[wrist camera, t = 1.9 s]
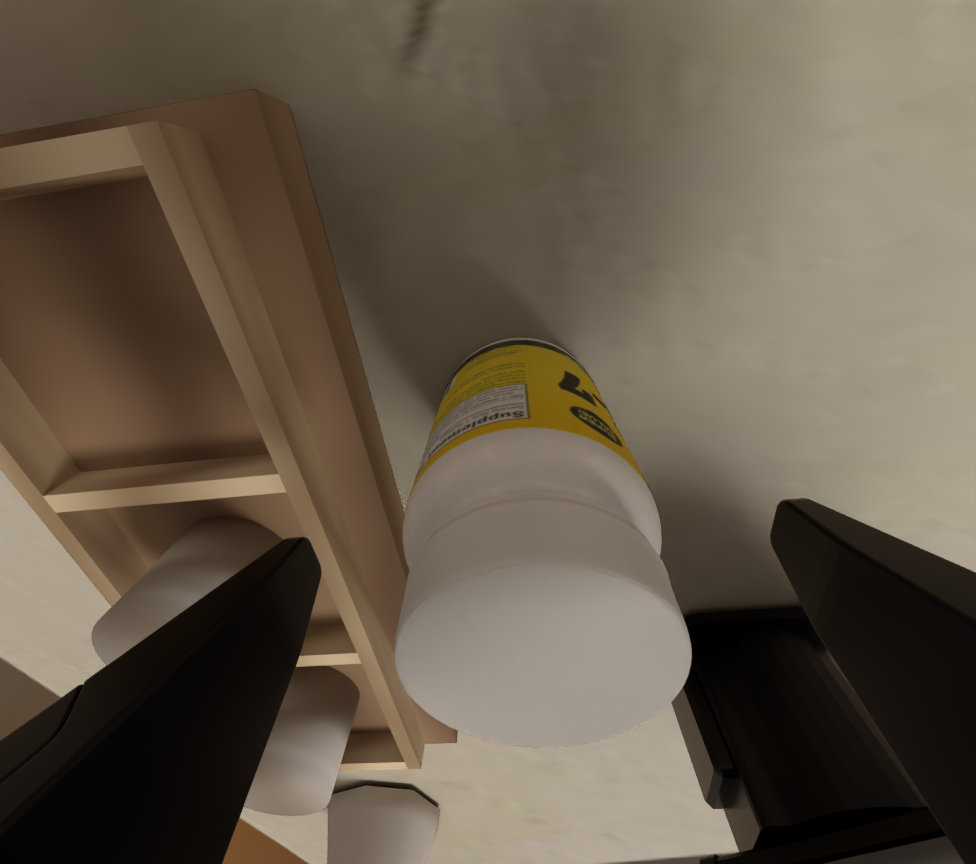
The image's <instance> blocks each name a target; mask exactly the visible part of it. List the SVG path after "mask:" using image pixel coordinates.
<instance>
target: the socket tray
mask: <svg viewBox="0 0 976 864" xmlns="http://www.w3.org/2000/svg"><path fill="white" fill-rule="evenodd" d="M0 469H1V471H2V472H3V473H4V474H5V476H6V477H7V478H8V479H9V481H10V482H11V483H12V484H13V485H14V487H15V488H16V489H17V490H18V492H19V493H20V494H21V495H22V497H23V498H24V499H25V500H26V502H27V503H28V504H29V505H30V506H31V508H32V509H33V510H34V511H35V513H36V514H37V515H38V516H39V518H40V519H41V520H42V521H43V522H44V524H45V525H46V526H47V527H48V529H49V530H50V531H51V532H52V534H53V535H54V536H55V537H56V539H57V540H58V541H59V542H60V543H61V545H62V546H63V547H64V548H65V550H66V551H67V552H68V553H69V555H70V556H71V557H72V558H73V560H74V561H75V562H76V563H77V564H78V566H79V567H80V568H81V569H82V571H83V572H84V573H85V574H86V576H87V577H88V578H89V579H90V581H91V582H92V583H93V584H94V585H95V587H96V588H97V589H98V590H99V592H100V593H101V594H102V595H103V597H104V598H105V599H106V600H107V601H108V603H109V604H110V605H111V606H112V607H111V608H110V609H109V610H108V611H107V612H106V613H105V614H104V615H103V616H102V617H101V619H100V620H99V621H98V622H97V623H96V624H95V626H94V627H93V631H92V643H93V646H94V649H95V651H96V652H97V654H98V656H99V657H100V658H101V660H102V661H103V662H104V663H105V664H106V665H108V664H110V663H111V662H112V661H114V660H115V659H117V658H118V657H119V656H121V655H122V654H124V653H125V652H126V651H128V650H129V649H131V648H132V647H133V646H135V645H136V644H138V643H139V642H140V641H142V640H143V639H145V638H146V637H147V636H149V635H150V634H152V633H153V632H154V631H156V630H157V629H159V628H160V627H162V626H163V625H164V624H166V623H167V622H169V621H170V620H171V619H173V618H174V617H176V616H177V615H178V614H180V613H181V612H183V611H184V610H185V609H187V608H188V607H190V606H191V605H192V604H194V603H195V602H197V601H198V600H199V599H201V598H202V597H204V596H205V595H206V594H208V593H209V592H211V591H212V590H213V589H215V588H216V587H218V586H219V585H220V584H222V583H223V582H225V581H226V580H227V579H229V578H230V577H232V576H233V575H234V574H236V573H237V572H239V571H240V570H242V569H243V568H244V567H246V566H247V565H249V564H250V563H251V562H253V561H254V560H256V559H257V558H258V557H260V556H261V555H263V554H264V553H265V552H267V551H268V550H270V549H271V548H272V547H274V546H275V545H277V544H278V543H279V542H281V541H282V540H284V539H286V538H291V537H307V538H308V539H309V540H310V542H311V544H312V546H313V549H314V551H315V553H316V556H317V558H318V560H319V563H320V565H321V572H322V574H321V580H320V584H319V588H318V591H317V595H316V599H315V603H314V606H313V610H312V614H311V618H310V622H309V625H308V629H307V633H306V637H305V640H304V644H303V647H302V650H301V653H300V656H299V659H298V662H297V665H296V668H295V670H294V673H293V676H292V678H291V681H290V684H289V686H288V689H287V692H286V694H285V697H284V700H283V702H282V705H281V708H280V710H279V713H278V716H277V718H276V721H275V724H274V726H273V729H272V732H271V734H270V737H269V740H268V742H267V745H266V748H265V751H264V753H263V756H262V759H261V761H260V764H259V767H258V769H257V772H256V775H255V777H254V780H253V783H252V785H251V788H250V791H249V793H248V796H247V799H246V801H245V804H244V807H246V808H249V809H252V810H255V811H259V812H263V813H268V814H273V815H282V816H300V815H308V814H312V813H316V812H318V811H320V810H322V809H324V808H325V807H326V806H327V805H328V804H329V802H330V799H331V795H332V792H333V788H334V785H335V782H336V778H337V775H338V771H349V770H387V769H421V765H422V758H423V751H424V744H436V743H457V733H458V731H457V730H455V729H453V728H451V727H449V726H447V725H445V724H444V723H442V722H440V721H438V720H437V719H435V718H434V717H432V716H431V715H429V714H428V713H427V712H426V711H424V710H423V709H422V708H421V707H420V706H419V705H418V704H417V703H416V702H415V701H414V700H413V699H412V698H411V697H410V696H409V694H408V693H407V692H406V690H405V688H404V686H403V684H402V683H401V681H400V679H399V676H398V674H397V670H396V666H395V659H394V643H395V635H396V631H397V626H398V622H399V617H400V613H401V608H402V604H403V599H404V594H405V588H406V584H407V578H408V574H409V571H410V570H409V568H408V565H407V562H406V559H405V554H404V547H403V523H404V517H405V514H404V511H403V507H402V504H401V500H400V497H399V493H398V490H397V486H396V482H395V479H394V475H393V472H392V468H391V465H390V461H389V458H388V454H387V451H386V447H385V444H384V440H383V436H382V433H381V429H380V426H379V422H378V419H377V415H376V412H375V408H374V405H373V401H372V398H371V394H370V390H369V387H368V383H367V380H366V376H365V373H364V369H363V366H362V362H361V359H360V355H359V352H358V348H357V344H356V341H355V337H354V334H353V330H352V327H351V323H350V320H349V316H348V313H347V309H346V306H345V302H344V298H343V295H342V291H341V288H340V284H339V281H338V277H337V274H336V270H335V267H334V263H333V260H332V256H331V252H330V249H329V245H328V242H327V238H326V235H325V231H324V228H323V224H322V221H321V217H320V214H319V210H318V206H317V203H316V199H315V196H314V192H313V189H312V185H311V182H310V178H309V175H308V171H307V168H306V164H305V160H304V157H303V153H302V150H301V146H300V143H299V139H298V136H297V132H296V129H295V125H294V122H293V118H292V114H291V111H290V107H289V105H287V104H285V103H283V102H281V101H278V100H276V99H274V98H272V97H270V96H268V95H266V94H264V93H262V92H260V91H258V90H255V89H252V90H246V91H240V92H235V93H229V94H224V95H218V96H213V97H207V98H202V99H196V100H191V101H185V102H180V103H174V104H169V105H163V106H157V107H152V108H146V109H141V110H135V111H130V112H124V113H119V114H113V115H108V116H102V117H97V118H91V119H85V120H80V121H74V122H69V123H63V124H58V125H52V126H47V127H41V128H36V129H30V130H25V131H19V132H13V133H8V134H2V135H0Z"/></svg>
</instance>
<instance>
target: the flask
mask: <svg viewBox="0 0 976 864" xmlns="http://www.w3.org/2000/svg"><path fill="white" fill-rule="evenodd" d="M439 816H440V809H438V808H437V807H436V806H434V805H433V804H431V803H430V802H429V801H427V800H426V799H425V798H423V797H422V796H421V795H419V794H418V793H417V792H415V791H414V790H407V789H396V788H386V787H375V786H362V787H358V788H354V789H351V790H347V791H343V792H339V793H336V794H332V795H331V799H330V802H329V804H328V857H327V864H425V862H426V860H427V857H428V855H429V852H430V850H431V847H432V844H433V842H434V839H435V836H436V833H437V831H438V824H439Z"/></svg>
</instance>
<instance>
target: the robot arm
mask: <svg viewBox="0 0 976 864" xmlns="http://www.w3.org/2000/svg"><path fill="white" fill-rule="evenodd" d="M770 539H771V544H772V547H773V549H774V551H775V553H776V555H777V557H778V559H779V561H780V563H781V565H782V567H783V569H784V571H785V573H786V575H787V577H788V579H789V581H790V583H791V585H792V587H793V589H794V591H795V593H796V595H797V597H798V599H799V601H800V603H801V605H802V607H803V608H787V609H769V610H752V611H734V612H716V613H699V614H692V615H690V616H687V617H686V618H685V619H684V621H685V624H686V627H687V630H688V633H689V637H690V642H691V648H692V659H691V667H690V671H689V675H688V677H687V679H686V682H685V684H684V686H683V687H682V689H681V690H680V692H679V693H678V695H677V696H676V697H675V699H674V700H673V701H672V705H673V708H674V711H675V714H676V717H677V720H678V723H679V726H680V729H681V732H682V735H683V738H684V741H685V744H686V746H687V749H688V752H689V755H690V758H691V761H692V764H693V767H694V770H695V773H696V776H697V779H698V782H699V785H700V788H701V790H702V793H703V796H704V799H705V801H706V802H707V803H708V804H709V805H710V806H711V807H712V808H713V809H724V811H725V814H726V817H727V820H728V822H729V825H730V828H731V830H732V833H733V836H734V839H735V841H736V844H737V847H738V850H739V853H735V854H731V855H727V856H723V857H719V856H717V855H711V856H707V857H703V858H700V864H976V572H973V571H971V570H969V569H966V568H964V567H962V566H960V565H957V564H955V563H953V562H950V561H948V560H946V559H944V558H941V557H939V556H937V555H935V554H932V553H930V552H928V551H925V550H923V549H921V548H919V547H916V546H914V545H912V544H910V543H907V542H905V541H903V540H900V539H898V538H896V537H894V536H891V535H889V534H887V533H885V532H882V531H880V530H878V529H875V528H873V527H871V526H869V525H866V524H864V523H862V522H860V521H857V520H855V519H853V518H850V517H848V516H846V515H844V514H841V513H839V512H837V511H835V510H832V509H830V508H828V507H825V506H823V505H821V504H819V503H816V502H814V501H812V500H809V499H805V498H800V499H787V500H783V501H781V502H780V503H779V504H778V506H777V509H776V513H775V517H774V521H773V525H772V529H771V534H770ZM321 574H322V572H321V565H320V563H319V560H318V558H317V556H316V553H315V551H314V549H313V546H312V544H311V542H310V540H309V539H308V538H307V537H291V538H286V539H284V540H282V541H281V542H279V543H278V544H277V545H275V546H274V547H272V548H271V549H270V550H268V551H267V552H265V553H264V554H263V555H261V556H260V557H258V558H257V559H256V560H254V561H253V562H251V563H250V564H249V565H247V566H246V567H244V568H243V569H242V570H240V571H239V572H237V573H236V574H234V575H233V576H232V577H230V578H229V579H227V580H226V581H225V582H223V583H222V584H220V585H219V586H218V587H216V588H215V589H213V590H212V591H211V592H209V593H208V594H206V595H205V596H204V597H202V598H201V599H199V600H198V601H197V602H195V603H194V604H192V605H191V606H190V607H188V608H187V609H185V610H184V611H183V612H181V613H180V614H178V615H177V616H176V617H174V618H173V619H171V620H170V621H169V622H167V623H166V624H164V625H163V626H162V627H160V628H159V629H157V630H156V631H154V632H153V633H152V634H150V635H149V636H147V637H146V638H145V639H143V640H142V641H140V642H139V643H138V644H136V645H135V646H133V647H132V648H131V649H129V650H128V651H126V652H125V653H124V654H122V655H121V656H119V657H118V658H117V659H115V660H114V661H112V662H111V663H110V664H108V665H107V666H105V667H104V668H103V669H101V670H100V671H98V672H97V673H96V674H94V675H93V676H91V677H90V678H89V679H87V680H86V681H85V682H84V685H79V686H77V687H76V688H74V689H73V690H72V691H70V692H69V693H67V694H66V695H65V696H63V697H62V698H60V699H59V700H58V701H56V702H55V703H53V704H52V705H51V706H49V707H48V708H46V709H45V710H43V711H42V712H41V713H39V714H38V715H36V716H35V717H33V718H32V719H30V720H29V721H28V722H26V723H25V724H23V725H22V726H21V727H19V728H18V729H16V730H15V731H13V732H12V733H10V734H9V735H8V736H6V737H5V738H3V739H2V740H0V864H222V863H223V860H224V857H225V855H226V852H227V849H228V847H229V844H230V841H231V839H232V836H233V833H234V831H235V828H236V825H237V823H238V820H239V817H240V815H241V812H242V809H243V807H244V804H245V801H246V799H247V796H248V793H249V791H250V788H251V785H252V783H253V780H254V777H255V775H256V772H257V769H258V767H259V764H260V761H261V759H262V756H263V753H264V751H265V748H266V745H267V742H268V740H269V737H270V734H271V732H272V729H273V726H274V724H275V721H276V718H277V716H278V713H279V710H280V708H281V705H282V702H283V700H284V697H285V694H286V692H287V689H288V686H289V684H290V681H291V678H292V676H293V673H294V670H295V668H296V665H297V662H298V659H299V656H300V653H301V650H302V647H303V644H304V640H305V637H306V633H307V629H308V625H309V622H310V618H311V614H312V610H313V606H314V603H315V599H316V595H317V591H318V588H319V584H320V580H321Z"/></svg>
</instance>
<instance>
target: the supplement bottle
mask: <svg viewBox="0 0 976 864" xmlns="http://www.w3.org/2000/svg"><path fill="white" fill-rule="evenodd" d="M661 545H662V537H661V522H660V518H659V514H658V510H657V507H656V504H655V501H654V499H653V496H652V494H651V492H650V490H649V487H648V485H647V483H646V481H645V478H644V476H643V475H642V473H641V471H640V469H639V468H638V466H637V463H636V462H635V460H634V458H633V456H632V455H631V453H630V451H629V449H628V448H627V446H626V443H625V442H624V440H623V438H622V436H621V434H620V432H619V431H618V429H617V427H616V425H615V423H614V421H613V419H612V416H611V415H610V413H609V411H608V409H607V407H606V406H605V404H604V402H603V400H602V398H601V396H600V394H599V392H598V390H597V388H596V386H595V384H594V382H593V381H592V379H591V378H590V376H589V375H588V373H587V371H586V370H585V369H584V367H583V366H582V365H581V364H580V363H579V362H578V361H577V360H576V359H575V358H574V357H573V356H572V355H571V354H569V353H568V352H566V351H565V350H563V349H562V348H560V347H558V346H556V345H554V344H552V343H549V342H546V341H543V340H539V339H533V338H510V339H504V340H500V341H496V342H493V343H490V344H488V345H486V346H484V347H482V348H480V349H478V350H477V351H475V352H474V353H472V354H471V355H470V356H468V357H467V358H466V359H465V360H464V361H463V362H462V363H461V364H460V365H459V367H458V368H457V369H456V370H455V372H454V373H453V375H452V376H451V378H450V380H449V382H448V384H447V386H446V389H445V392H444V395H443V398H442V401H441V404H440V407H439V410H438V413H437V416H436V419H435V422H434V425H433V428H432V431H431V434H430V437H429V440H428V443H427V446H426V449H425V452H424V455H423V458H422V461H421V464H420V467H419V470H418V473H417V476H416V479H415V482H414V485H413V488H412V490H411V493H410V496H409V498H408V501H407V506H406V511H405V517H404V523H403V547H404V554H405V559H406V562H407V565H408V568H409V570H410V571H409V574H408V578H407V584H406V588H405V594H404V599H403V604H402V608H401V613H400V617H399V622H398V626H397V631H396V635H395V643H394V659H395V666H396V670H397V674H398V676H399V679H400V681H401V683H402V684H403V686H404V688H405V690H406V692H407V693H408V694H409V696H410V697H411V698H412V699H413V700H414V701H415V702H416V703H417V704H418V705H419V706H420V707H421V708H422V709H423V710H424V711H426V712H427V713H428V714H429V715H431V716H432V717H434V718H435V719H437V720H438V721H440V722H442V723H444V724H445V725H447V726H449V727H451V728H453V729H455V730H457V731H459V732H462V733H464V734H467V735H470V736H474V737H477V738H479V739H483V740H486V741H491V742H495V743H500V744H507V745H513V746H520V747H532V748H537V747H568V746H575V745H582V744H587V743H592V742H598V741H601V740H604V739H607V738H611V737H614V736H617V735H620V734H623V733H626V732H629V731H631V730H633V729H635V728H637V727H639V726H641V725H642V724H644V723H646V722H648V721H650V720H651V719H653V718H654V717H656V716H657V715H658V714H660V713H661V712H662V711H663V710H664V709H665V708H666V707H667V706H668V705H669V704H670V703H671V702H672V701H673V700H674V699H675V697H676V696H677V695H678V693H679V692H680V690H681V689H682V687H683V686H684V684H685V682H686V679H687V677H688V675H689V671H690V667H691V659H692V648H691V642H690V637H689V633H688V630H687V627H686V624H685V621H684V618H683V615H682V613H681V610H680V608H679V606H678V603H677V601H676V598H675V595H674V593H673V590H672V587H671V584H670V580H669V575H668V572H667V570H666V567H665V565H664V563H663V561H662V560H661V558H660V552H661Z"/></svg>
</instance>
